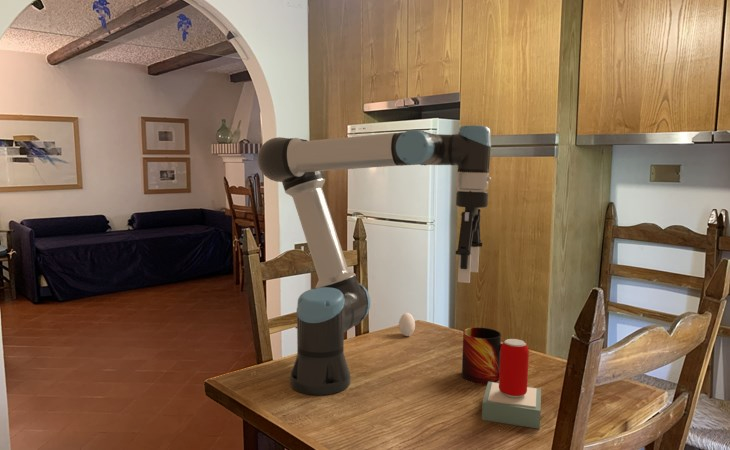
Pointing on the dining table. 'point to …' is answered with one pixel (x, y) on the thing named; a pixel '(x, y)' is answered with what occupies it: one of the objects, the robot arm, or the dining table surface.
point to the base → (512, 407)
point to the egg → (406, 324)
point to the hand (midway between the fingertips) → (468, 276)
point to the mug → (481, 355)
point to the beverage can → (513, 368)
